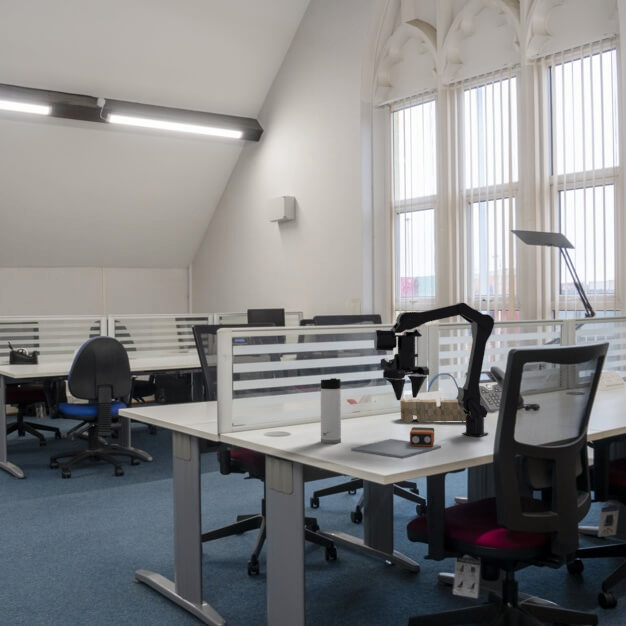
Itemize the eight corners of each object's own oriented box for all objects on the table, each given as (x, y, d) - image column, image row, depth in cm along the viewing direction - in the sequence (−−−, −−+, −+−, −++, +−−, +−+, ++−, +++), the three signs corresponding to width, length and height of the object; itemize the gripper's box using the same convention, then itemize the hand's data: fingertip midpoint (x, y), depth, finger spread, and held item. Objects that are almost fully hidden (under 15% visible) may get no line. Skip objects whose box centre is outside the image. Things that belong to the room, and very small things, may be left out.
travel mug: (324, 444, 223) (324, 378, 223) (318, 440, 229) (318, 376, 229) (344, 443, 225) (343, 378, 224) (337, 439, 231) (337, 376, 231)
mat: (390, 440, 229) (390, 438, 229) (440, 447, 217) (440, 445, 217) (351, 450, 213) (351, 448, 213) (403, 458, 202) (403, 455, 202)
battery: (411, 426, 225) (409, 432, 215) (434, 427, 223) (432, 432, 213) (411, 441, 225) (409, 446, 215) (434, 441, 223) (432, 447, 213)
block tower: (400, 424, 268) (482, 423, 264) (400, 401, 268) (481, 400, 264) (401, 421, 276) (480, 420, 272) (400, 399, 276) (479, 397, 271)
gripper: (401, 348, 249) (401, 394, 249) (369, 351, 235) (369, 399, 235) (430, 349, 242) (430, 397, 242) (398, 352, 228) (398, 402, 228)
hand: (406, 398), depth 237 cm, fingers open, 9 cm apart
